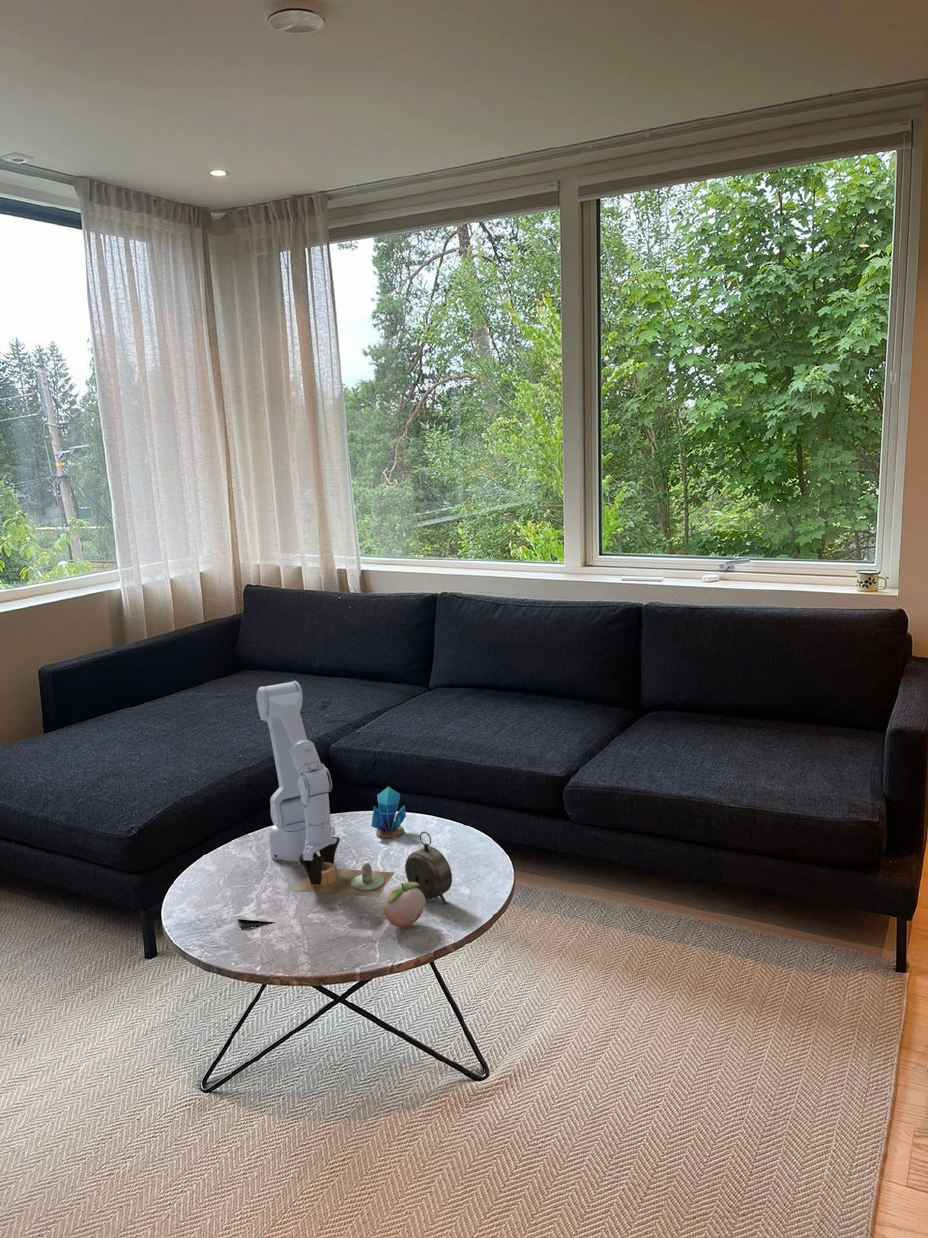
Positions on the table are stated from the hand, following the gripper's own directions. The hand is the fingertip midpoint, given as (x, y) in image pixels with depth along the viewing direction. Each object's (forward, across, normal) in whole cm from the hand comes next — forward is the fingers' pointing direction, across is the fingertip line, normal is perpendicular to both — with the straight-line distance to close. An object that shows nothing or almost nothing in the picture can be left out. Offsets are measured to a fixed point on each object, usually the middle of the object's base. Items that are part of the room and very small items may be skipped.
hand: (322, 876), depth 219 cm
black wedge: (+3, -14, +10) cm, 18 cm away
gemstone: (+2, +30, -6) cm, 31 cm away
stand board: (+2, 0, -6) cm, 6 cm away
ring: (+1, 0, 0) cm, 1 cm away
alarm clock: (+2, -4, -26) cm, 27 cm away
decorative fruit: (+2, -16, -24) cm, 29 cm away
